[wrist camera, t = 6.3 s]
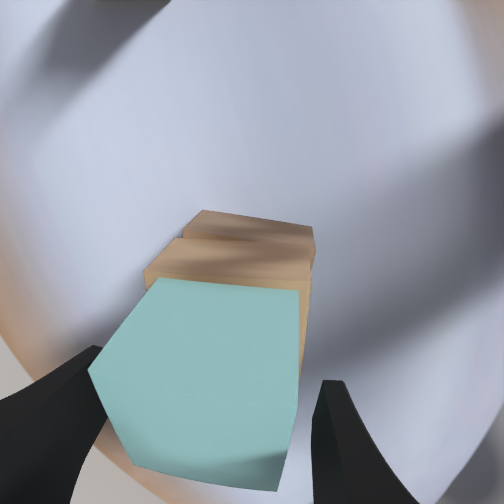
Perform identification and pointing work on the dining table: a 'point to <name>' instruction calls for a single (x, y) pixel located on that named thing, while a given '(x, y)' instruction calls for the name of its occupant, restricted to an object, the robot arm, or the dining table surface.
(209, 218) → the brown wooden block
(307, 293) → the slab upper
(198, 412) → the cube
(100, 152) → the dining table surface
